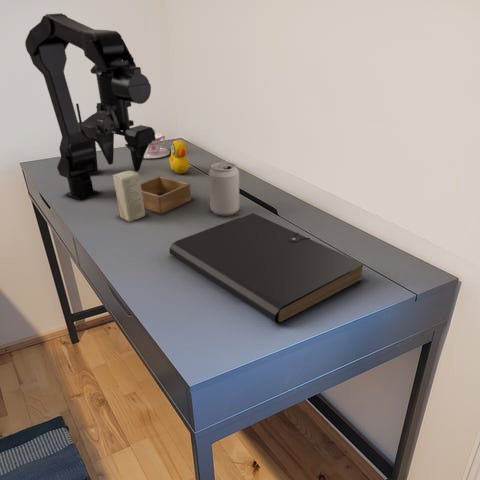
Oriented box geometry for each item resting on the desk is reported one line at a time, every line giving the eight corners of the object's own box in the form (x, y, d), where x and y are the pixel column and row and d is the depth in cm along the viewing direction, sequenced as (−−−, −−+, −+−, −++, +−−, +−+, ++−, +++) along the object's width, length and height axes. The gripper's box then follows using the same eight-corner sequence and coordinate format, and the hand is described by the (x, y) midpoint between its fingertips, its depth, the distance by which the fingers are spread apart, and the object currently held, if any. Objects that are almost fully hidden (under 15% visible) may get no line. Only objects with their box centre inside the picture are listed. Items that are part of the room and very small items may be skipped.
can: (236, 218, 121) (235, 170, 114) (207, 215, 123) (205, 169, 116) (241, 206, 127) (241, 161, 120) (214, 204, 128) (212, 159, 122)
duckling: (194, 177, 146) (192, 143, 140) (177, 179, 145) (174, 145, 139) (183, 166, 155) (181, 134, 149) (167, 168, 153) (164, 136, 147)
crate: (131, 204, 129) (128, 187, 127) (160, 191, 137) (159, 175, 134) (162, 213, 124) (160, 197, 121) (191, 200, 131) (189, 184, 129)
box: (136, 211, 125) (130, 169, 119) (146, 216, 123) (140, 173, 116) (119, 217, 122) (111, 174, 116) (128, 222, 120) (121, 178, 113)
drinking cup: (107, 171, 151) (96, 102, 139) (89, 178, 146) (76, 107, 134) (90, 167, 154) (78, 99, 143) (72, 173, 149) (57, 104, 138)
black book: (365, 262, 94) (275, 309, 81) (362, 280, 96) (274, 328, 84) (253, 211, 114) (168, 242, 102) (253, 227, 117) (170, 259, 104)
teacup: (140, 161, 159) (137, 142, 156) (131, 151, 168) (128, 133, 165) (174, 156, 164) (173, 137, 160) (164, 147, 172) (162, 129, 169)
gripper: (56, 98, 106) (71, 169, 115) (114, 109, 97) (125, 185, 106) (96, 90, 113) (107, 157, 122) (153, 100, 104) (160, 171, 113)
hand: (123, 167), depth 116 cm, fingers open, 9 cm apart
